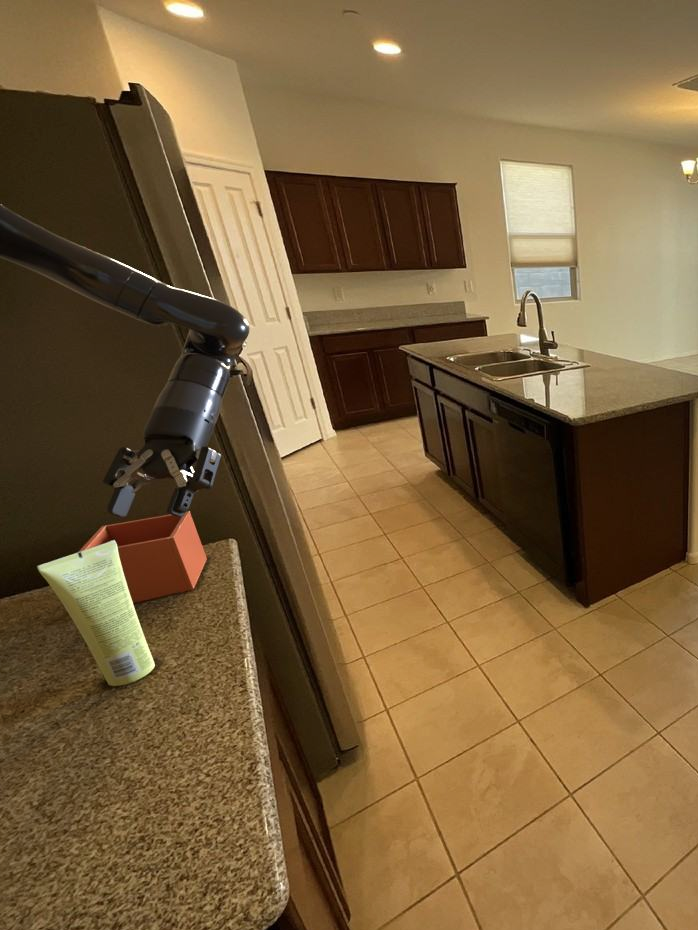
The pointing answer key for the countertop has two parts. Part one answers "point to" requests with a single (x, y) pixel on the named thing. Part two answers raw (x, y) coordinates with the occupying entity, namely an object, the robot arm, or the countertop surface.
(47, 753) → the countertop surface
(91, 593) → the tube
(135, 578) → the trash bin
